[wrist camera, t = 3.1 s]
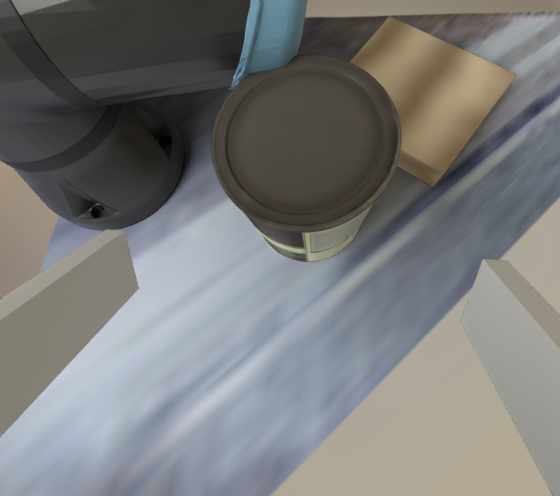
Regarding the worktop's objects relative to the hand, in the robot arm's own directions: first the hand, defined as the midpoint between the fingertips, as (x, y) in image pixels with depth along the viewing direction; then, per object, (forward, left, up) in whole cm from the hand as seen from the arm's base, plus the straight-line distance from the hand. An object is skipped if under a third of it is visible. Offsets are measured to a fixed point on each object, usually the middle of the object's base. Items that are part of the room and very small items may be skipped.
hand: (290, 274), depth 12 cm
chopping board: (-4, +24, -17) cm, 29 cm away
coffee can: (-5, +8, -17) cm, 20 cm away
